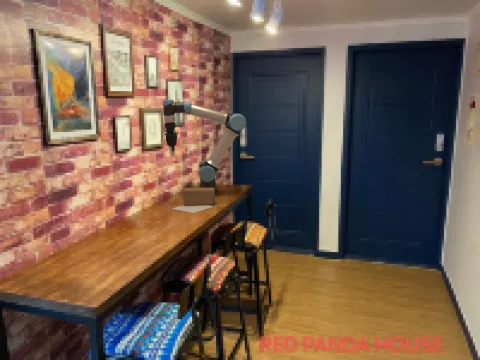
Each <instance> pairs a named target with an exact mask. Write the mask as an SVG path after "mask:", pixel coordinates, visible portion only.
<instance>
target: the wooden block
mask: <svg viewBox="0 0 480 360" xmlns="http://www.w3.org/2000/svg"><path fill="white" fill-rule="evenodd" d="M182 200H183V202H182V203H183V205H209V206H214V204H215V202H216V192H215V188H199V187H186V188H184V189H183V191H182Z"/></svg>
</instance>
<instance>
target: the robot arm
mask: <svg viewBox="0 0 480 360" xmlns="http://www.w3.org/2000/svg"><path fill="white" fill-rule="evenodd" d="M162 107H163V108H162V109H163V119H164V128H165V132H166V133H165V135H166V139H165V142H166V146H168V147H169V154H170V155H169V156H170V157H172V156H173V157H175V155H176V154H175V151H176V149H175V148H176V147H175V146H178V145H177V144H178V134H179V132H178V131H176V125H177V124H176V115H175V114H187V115H190V116H195V117H199V118H202V119H205V120H209V121H213V122H216V123H220V124H223V126H225V128H224V129H225V130H224V132H223V134H222V135H221V136H220V137H221V138H220V139H219V141H218V143H217V144H216V146H215V148H214V149H213V151H212V153H211V155H210V156H209V158H207V159H205V160H204V161H200V162H198V169H199V170H198V176H199V185H198V188H215V193H217V192H219V186H218V184H217V181H216V174H217V173H218V171H219V169H220V164H221V162H222V160H223V159H224V157H225V155H226V154H227V152H228V151H229V149H230V148H231V146H232V144H233V142H234V141H235V138H236V137H239V136H240V134H241V132H242V131H243V130H244V129H245V128H246V125H247V120H246V117H245V116H244V115H243V114H241V113H232V112H231V113H230V112H223V111H222V112H221V111H217V110H215V109H210V108H207V107H203V106H199V105H196V104H192V101H179V102H178V101H175V100H174V99H163V100H162ZM165 135H164V136H165Z"/></svg>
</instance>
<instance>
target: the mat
mask: <svg viewBox="0 0 480 360" xmlns="http://www.w3.org/2000/svg"><path fill="white" fill-rule="evenodd" d="M214 207H215V206H214V205H184V204H183V205H179V206H176V207H173V208H171V211H172V210H173V211H178V212H183V213H188V214H193V215H194V214H197V213H200V212H202V211H206V210H209V209H212V208H214Z"/></svg>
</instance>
